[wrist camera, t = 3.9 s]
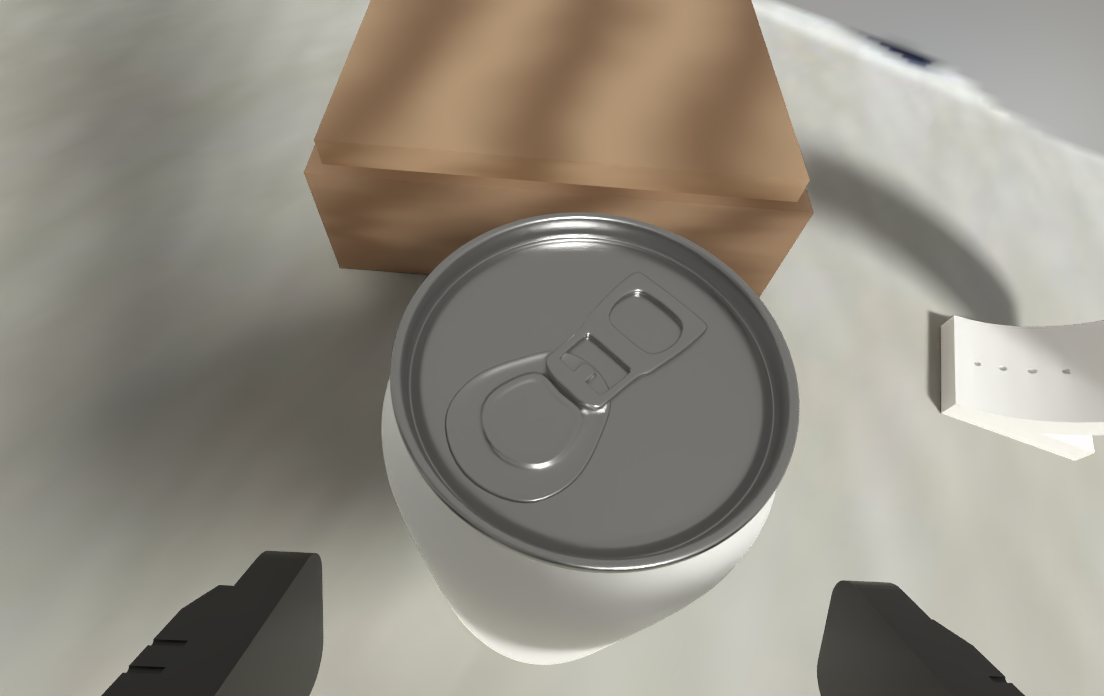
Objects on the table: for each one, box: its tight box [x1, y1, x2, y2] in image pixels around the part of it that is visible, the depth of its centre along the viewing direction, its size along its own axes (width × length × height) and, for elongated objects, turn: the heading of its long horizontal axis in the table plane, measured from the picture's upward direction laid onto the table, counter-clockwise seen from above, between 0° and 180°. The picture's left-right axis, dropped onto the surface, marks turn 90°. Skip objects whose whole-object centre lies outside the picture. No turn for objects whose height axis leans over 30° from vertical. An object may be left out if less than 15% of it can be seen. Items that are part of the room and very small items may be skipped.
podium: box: [304, 0, 813, 297], centre depth 26 cm, size 18×18×6 cm
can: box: [381, 212, 799, 665], centre depth 13 cm, size 6×6×12 cm
